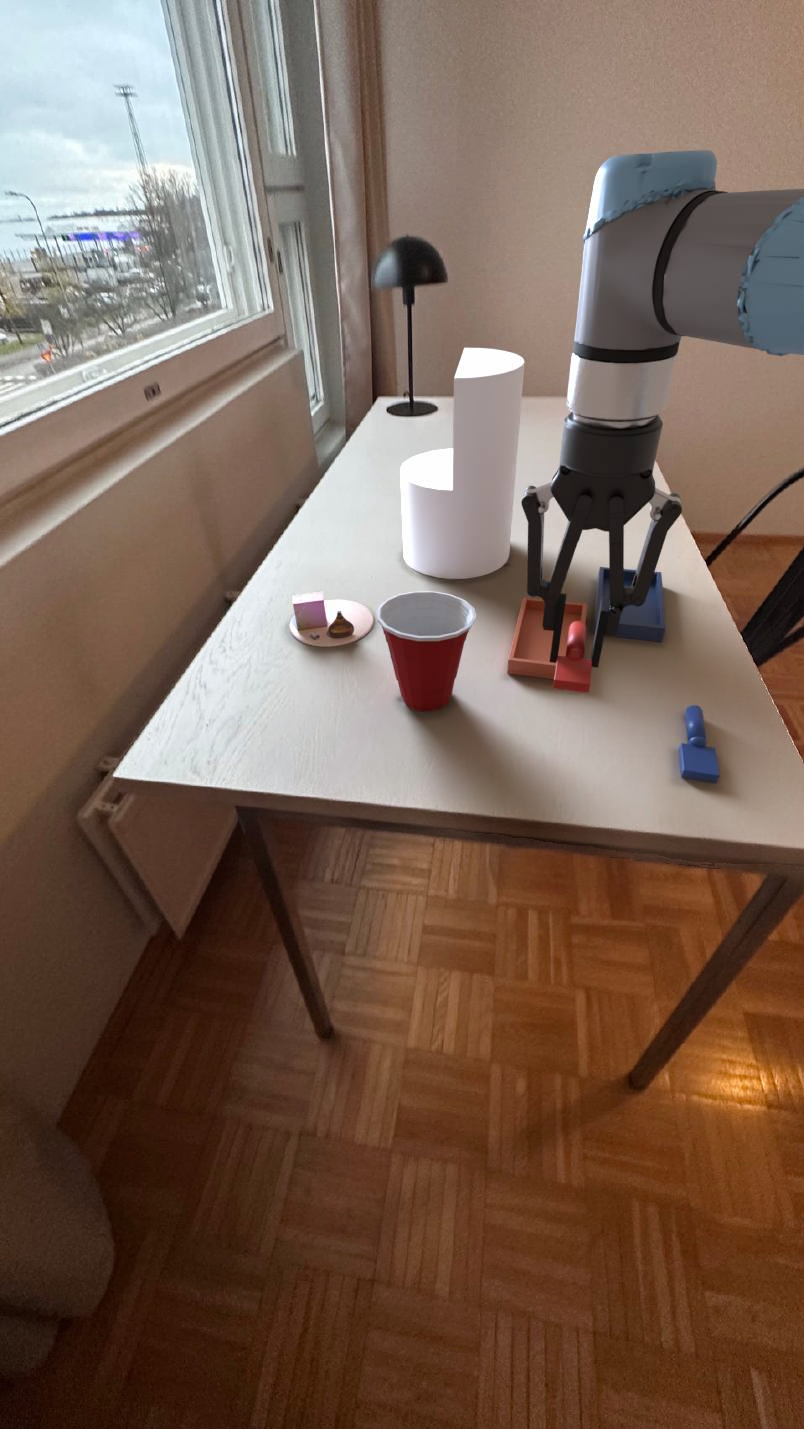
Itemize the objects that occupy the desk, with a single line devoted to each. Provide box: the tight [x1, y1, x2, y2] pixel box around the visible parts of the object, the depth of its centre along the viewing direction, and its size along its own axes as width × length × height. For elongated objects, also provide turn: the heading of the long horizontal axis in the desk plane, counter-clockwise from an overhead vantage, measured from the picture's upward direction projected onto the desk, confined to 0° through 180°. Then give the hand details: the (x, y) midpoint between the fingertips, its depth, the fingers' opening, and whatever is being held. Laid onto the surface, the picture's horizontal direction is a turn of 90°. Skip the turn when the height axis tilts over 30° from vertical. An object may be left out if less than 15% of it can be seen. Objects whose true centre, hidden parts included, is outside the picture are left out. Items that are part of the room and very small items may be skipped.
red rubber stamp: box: [552, 621, 593, 694], centre depth 65 cm, size 11×3×2 cm, turn 165°
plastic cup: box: [376, 590, 477, 713], centre depth 72 cm, size 11×11×12 cm
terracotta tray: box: [506, 597, 588, 680], centre depth 82 cm, size 9×15×2 cm, turn 165°
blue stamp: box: [678, 704, 720, 784], centre depth 67 cm, size 11×3×2 cm, turn 165°
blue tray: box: [593, 566, 666, 643], centre depth 88 cm, size 9×15×2 cm, turn 165°
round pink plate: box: [288, 590, 375, 648], centre depth 88 cm, size 12×12×4 cm
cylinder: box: [399, 347, 526, 580], centre depth 94 cm, size 17×17×28 cm
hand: (574, 657), depth 65 cm, fingers closed on red rubber stamp, 3 cm apart
